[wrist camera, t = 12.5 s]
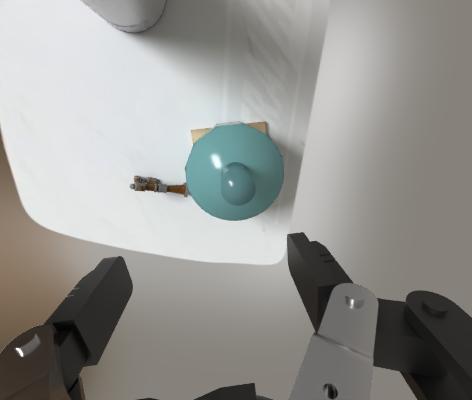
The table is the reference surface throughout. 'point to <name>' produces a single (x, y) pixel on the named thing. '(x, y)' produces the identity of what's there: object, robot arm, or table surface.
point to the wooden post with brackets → (157, 186)
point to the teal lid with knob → (234, 171)
